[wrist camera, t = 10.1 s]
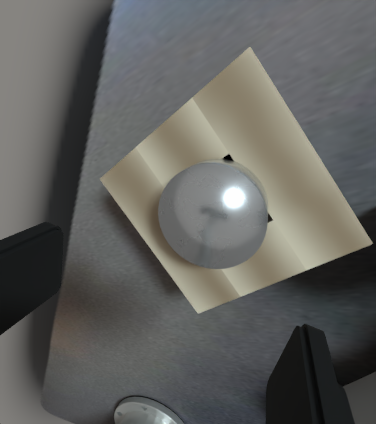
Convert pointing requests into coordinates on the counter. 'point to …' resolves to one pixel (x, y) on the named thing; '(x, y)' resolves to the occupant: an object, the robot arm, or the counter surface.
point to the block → (259, 165)
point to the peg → (214, 213)
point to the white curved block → (363, 399)
